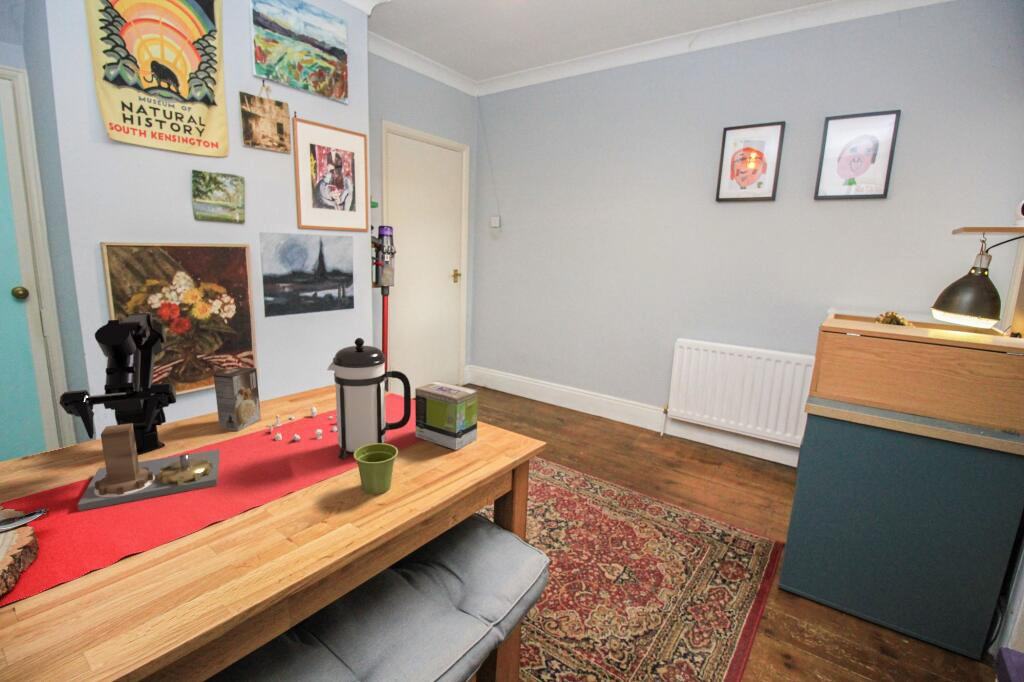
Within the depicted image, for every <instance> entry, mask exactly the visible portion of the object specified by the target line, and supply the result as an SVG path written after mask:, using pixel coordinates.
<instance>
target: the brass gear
mask: <svg viewBox="0 0 1024 682" xmlns="http://www.w3.org/2000/svg"><path fill="white" fill-rule="evenodd" d="M188 454H189V453H184V454H183V453H182V454H180V455H179V456H180V462H177V461H175V462H172V464H171V465H169V466H167V467H162V468H161V469H160V473H158V474H157V478H158V482H161V481H163V485H166V486H168V485H169V484H178V486H179V485H184V483H187V482H191V481H199V480H201V477H203V476H205V475H210V474H211V469H213V463H212V461H209V462H207V458H201V459H193V458H189V455H188Z"/></svg>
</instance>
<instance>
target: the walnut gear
mask: <svg viewBox="0 0 1024 682" xmlns="http://www.w3.org/2000/svg"><path fill="white" fill-rule="evenodd" d="M100 440H101V445H102V446H101V447H102V452H103V457H104V465H105V467H106V472H107V474H106V475H105V476H106V477H104V478H103V479H101V480H100V481H96V482H95V488H96V490H99V495H105V494H117V495H121V494H124V492H128V491H131V490H134V489H137V488H138V489H141V488H143V487H145V485H144V484H146V483H147V482H148V481H150V480H153V472H149V468H148V467H144V468H139V463H138V462H139V456H138V455H137V449H136V442H135V435H134V428H133V423H130V424H122V425H117V424H114V425H107V426H105V427H104V429H103V430H102V432H101V433H100Z"/></svg>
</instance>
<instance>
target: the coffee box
mask: <svg viewBox="0 0 1024 682" xmlns="http://www.w3.org/2000/svg"><path fill="white" fill-rule="evenodd" d="M213 379H214V387H215V389H214V390H215V399H216V406H217V408H216V409H217V417H218V426H219V429H221V430H229V431H235V432H239V431H241V430H243V429H245V428H247V427H249V426H250V425H251V426H252V424H255V423H256V422H259V421H261V420H262V416H261V405H260V404H261V403H260V395H259V384H258V373H257V368H256V367H243V366H236V367H234V368H230V369H227V370H224V371H220V372H217V373H215V374H213Z"/></svg>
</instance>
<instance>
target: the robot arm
mask: <svg viewBox="0 0 1024 682" xmlns="http://www.w3.org/2000/svg"><path fill="white" fill-rule="evenodd" d="M107 320H108V321H107V323H106V324H105V325H102V326H100V327H99V328H98V329H96V332H94V338H95V340H96V342H97V344H98V346H99V347H100V350H101V351H102V353H103V355H104V357H106V358H107V359H106V360H107V362H106V368H105V384H104V387H103V389H104V394H96V395H90V392H88V390H87V389H84V390H73V391H72V390H71V391H65V392H63V393H62V394H61V395H60V397H59V403H58V404H59V405H60V406H61V407H62V409H63V410H64V411H65V412H66V414H67V415H70V416H71V415H73V416H74V417H76V418H80V419H81V421H82V424H83V425H84V429H85V431H86V433H87V436H88V438H89V439H90V440H91V439H93V438H94V434H95V432H94V416H95V412H94V411H93V410H94V406H95V405H103V406H104V409H105V410H108V409H111V411H112V410H113V411H114V417H115V421H116V425H122V424H130V423H133V428H134V435H135V442H136V449H137V456H138V455H141V454H144V453H147V452H150V451H154V450H158V449H161V448H163V447H165V446H166V443H164V442H162V441H161V440H159V433H158V427H157V426H162V424H165V423H166V421H167V420H166V418H167V417H166V413H165V410H164V408H168V407H169V406H170V405H171V404H173V405H174V404H175V403H177V392H176V390H175V386H174V384H173V383H171V382H158V383H153V382H154V381H153V379H154V369H155V359H156V356H157V355H159V354H160V353H161V352H163V349H164V344H166V343H167V334H166V331H165V328H164V324H162V323H161V322H159V321H158V320H156V319H154V318H153V315H152V313H149V312H133V313H129V314H127V315H126V318H124V319H123V320H122V321H121V320H120V319H107Z"/></svg>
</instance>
